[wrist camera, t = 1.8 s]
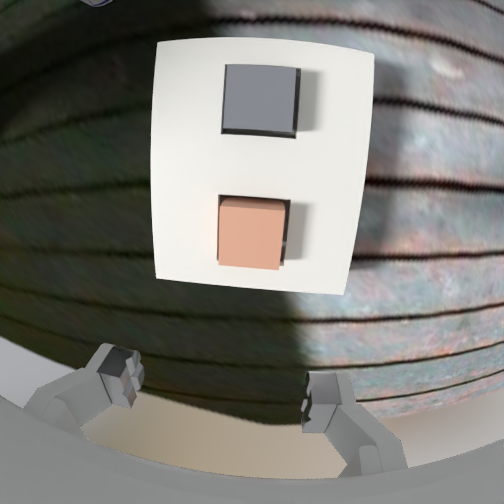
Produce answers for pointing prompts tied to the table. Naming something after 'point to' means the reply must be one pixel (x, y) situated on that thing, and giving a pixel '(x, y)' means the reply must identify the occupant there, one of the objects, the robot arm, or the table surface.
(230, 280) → the button panel
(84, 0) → the energy drink
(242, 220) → the terracotta key
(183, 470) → the robot arm
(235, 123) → the charcoal key
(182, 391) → the table surface
